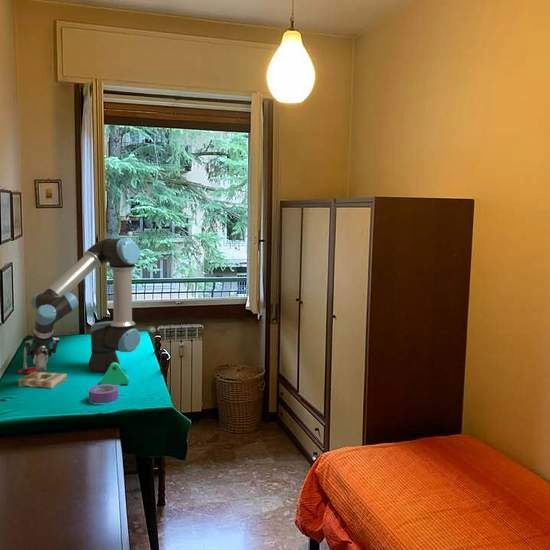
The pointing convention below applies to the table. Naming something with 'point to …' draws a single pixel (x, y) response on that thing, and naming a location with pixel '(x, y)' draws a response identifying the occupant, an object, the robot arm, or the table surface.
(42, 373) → the jig
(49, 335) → the robot arm
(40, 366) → the domed cap cylinder
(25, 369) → the tow hook
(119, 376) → the green triangle
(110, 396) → the tape roll
